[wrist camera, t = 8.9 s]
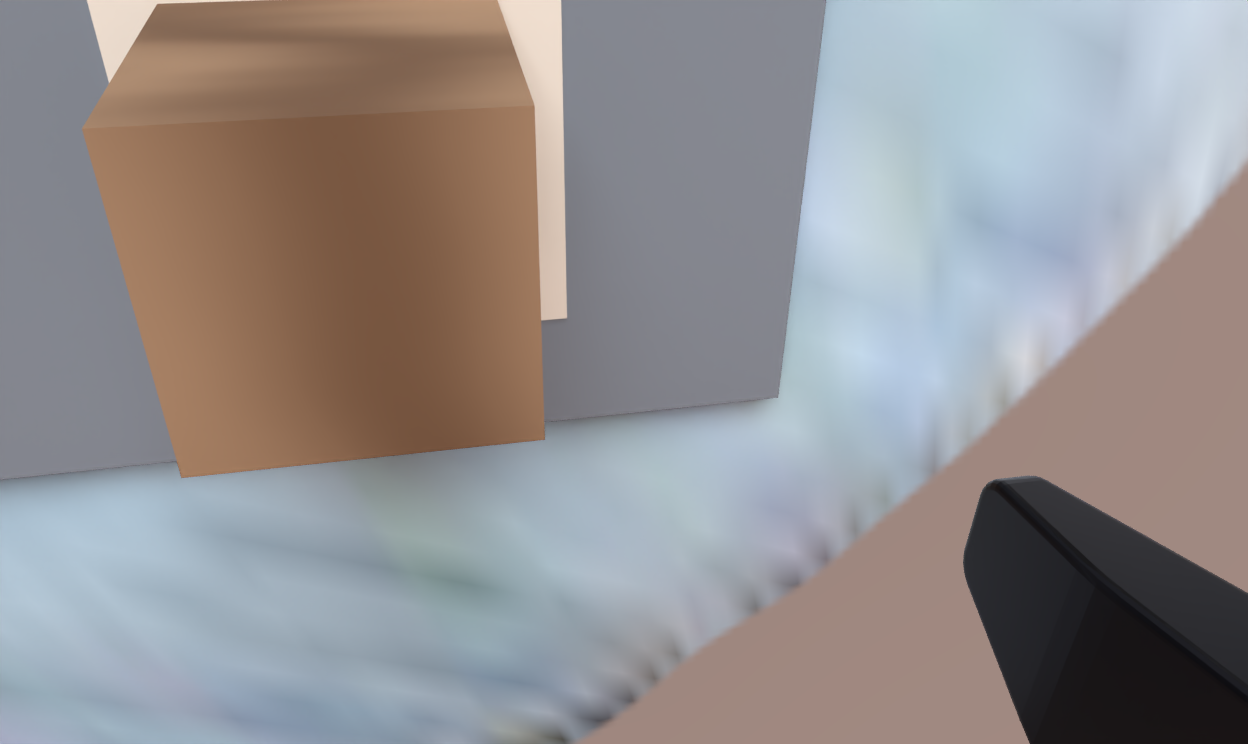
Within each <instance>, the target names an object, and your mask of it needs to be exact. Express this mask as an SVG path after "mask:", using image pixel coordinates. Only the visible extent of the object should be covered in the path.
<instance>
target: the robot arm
mask: <svg viewBox="0 0 1248 744" xmlns="http://www.w3.org/2000/svg"><path fill="white" fill-rule="evenodd" d="M963 565H964V573H965V577H966V581H967V584H968V587H969V589H970V592H971V595H972V597H973V600H974V602H975V605H976V608H977V610H978V613H979V615H980V618H981V620H982V623H983V626H984V628H985V631H986V633H987V636H988V639H989V641H990V644H991V646H992V649H993V652H994V654H995V657H996V659H997V662H998V664H999V667H1000V670H1001V672H1002V675H1003V677H1004V680H1005V682H1006V685H1007V688H1008V690H1009V693H1010V696H1011V698H1012V701H1013V703H1014V706H1015V709H1016V711H1017V714H1018V716H1019V719H1020V721H1021V723H1022V726H1023V728H1024V731H1025V733H1026V736H1027V738H1028V740H1029V743H1030V744H1248V593H1247V592H1245V591H1243V590H1241V589H1240V588H1237V587H1236V586H1234V585H1232V584H1231V583H1229V582H1227V581H1225V580H1224V579H1222V578H1220V577H1218V576H1216V575H1215V574H1213V573H1211V572H1209V571H1208V570H1206V569H1204V568H1202V567H1200V566H1198V565H1197V564H1195V563H1193V562H1191V561H1190V560H1188V559H1186V558H1184V557H1183V556H1181V555H1179V554H1177V553H1175V552H1174V551H1172V550H1170V549H1168V548H1166V547H1165V546H1163V545H1161V544H1159V543H1158V542H1156V541H1154V540H1152V539H1150V538H1149V537H1147V536H1145V535H1143V534H1142V533H1140V532H1138V531H1136V530H1134V529H1133V528H1131V527H1129V526H1127V525H1125V524H1124V523H1122V522H1120V521H1118V520H1117V519H1115V518H1113V517H1111V516H1109V515H1108V514H1106V513H1104V512H1102V511H1100V510H1099V509H1097V508H1095V507H1093V506H1091V505H1090V504H1088V503H1086V502H1084V501H1083V500H1081V499H1079V498H1077V497H1075V496H1074V495H1072V494H1070V493H1068V492H1067V491H1065V490H1063V489H1061V488H1059V487H1058V486H1056V485H1054V484H1052V483H1050V482H1049V481H1047V480H1045V479H1042V478H1041V477H1037V476H1021V477H1013V478H1004V479H996V480H993V481H991V482H989V483H988V484H987V485H986V486H985V487H984V488H983V490H982V492H981V495H980V499H979V502H978V505H977V509H976V512H975V515H974V519H973V522H972V526H971V529H970V533H969V536H968V540H967V543H966V547H965V551H964V560H963Z"/></svg>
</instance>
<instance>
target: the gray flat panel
mask: <svg viewBox="0 0 1248 744" xmlns="http://www.w3.org/2000/svg"><path fill="white" fill-rule="evenodd" d="M227 1H258V0H0V480H3V479H12V478H21V477H31V476H40V475H50V474H59V473H69V472H78V471H88V470H97V469H107V468H116V467H126V466H135V465H144V464H154V463H163V462H173V461H177V460H176V457H175V453H174V450H173V446H172V443H171V439H170V436H169V432H168V429H167V425H166V422H165V418H164V415H163V411H162V408H161V404H160V401H159V397H158V394H157V390H156V387H155V383H154V380H153V376H152V373H151V369H150V366H149V362H148V359H147V355H146V352H145V348H144V345H143V341H142V338H141V334H140V331H139V327H138V324H137V320H136V317H135V313H134V310H133V306H132V303H131V299H130V296H129V292H128V289H127V285H126V282H125V278H124V275H123V271H122V268H121V264H120V261H119V257H118V254H117V250H116V247H115V243H114V240H113V236H112V233H111V229H110V226H109V222H108V219H107V215H106V212H105V208H104V205H103V201H102V198H101V194H100V191H99V187H98V184H97V180H96V177H95V173H94V170H93V166H92V163H91V159H90V156H89V152H88V149H87V145H86V142H85V138H84V135H83V131H82V128H83V126H84V124H85V123H86V121H87V119H88V118H89V116H90V114H91V113H92V111H93V109H94V108H95V106H96V104H97V103H98V101H99V99H100V98H101V96H102V94H103V93H104V91H105V89H106V88H107V86H108V84H109V83H110V81H111V79H112V78H113V76H114V75H115V73H116V71H117V70H118V68H119V66H120V65H121V63H122V61H123V60H124V58H125V56H126V55H127V53H128V51H129V50H130V48H131V46H132V45H133V43H134V41H135V40H136V38H137V36H138V35H139V33H140V31H141V30H142V28H143V26H144V25H145V23H146V21H147V20H148V18H149V17H150V15H151V13H152V12H153V10H154V8H155V7H156V5H157V4H166V3H196V2H227ZM498 3H499V6H500V9H501V12H502V14H503V17H504V20H505V23H506V26H507V29H508V31H509V34H510V37H511V40H512V43H513V46H514V48H515V51H516V54H517V57H518V60H519V63H520V65H521V68H522V71H523V74H524V77H525V80H526V82H527V85H528V88H529V91H530V94H531V97H532V99H533V102H534V105H535V134H536V167H537V200H538V233H539V266H540V299H541V332H542V365H543V398H544V422H551V421H561V420H570V419H580V418H589V417H599V416H608V415H617V414H627V413H636V412H646V411H655V410H665V409H674V408H684V407H693V406H703V405H712V404H722V403H731V402H740V401H750V400H759V399H769V398H778V394H779V386H780V377H781V369H782V361H783V353H784V344H785V336H786V328H787V319H788V311H789V303H790V295H791V286H792V278H793V270H794V262H795V253H796V245H797V237H798V229H799V220H800V212H801V204H802V196H803V187H804V179H805V171H806V163H807V154H808V146H809V138H810V130H811V121H812V113H813V105H814V96H815V88H816V80H817V72H818V63H819V55H820V47H821V39H822V30H823V22H824V14H825V6H826V0H498Z"/></svg>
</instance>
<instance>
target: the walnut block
mask: <svg viewBox="0 0 1248 744" xmlns="http://www.w3.org/2000/svg"><path fill="white" fill-rule="evenodd" d="M82 131H83V135H84V138H85V142H86V145H87V149H88V152H89V156H90V159H91V163H92V166H93V170H94V173H95V177H96V180H97V184H98V187H99V191H100V194H101V198H102V201H103V205H104V208H105V212H106V215H107V219H108V222H109V226H110V229H111V233H112V236H113V240H114V243H115V247H116V250H117V254H118V257H119V261H120V264H121V268H122V271H123V275H124V278H125V282H126V285H127V289H128V292H129V296H130V299H131V303H132V306H133V310H134V313H135V317H136V320H137V324H138V327H139V331H140V334H141V338H142V341H143V345H144V348H145V352H146V355H147V359H148V362H149V366H150V369H151V373H152V376H153V380H154V383H155V387H156V390H157V394H158V397H159V401H160V404H161V408H162V411H163V415H164V418H165V422H166V425H167V429H168V432H169V436H170V439H171V443H172V446H173V450H174V453H175V457H176V460H177V464H178V467H179V471H180V474H181V478H186V477H195V476H205V475H214V474H223V473H233V472H242V471H252V470H261V469H271V468H280V467H290V466H299V465H309V464H318V463H328V462H337V461H347V460H356V459H366V458H375V457H384V456H394V455H403V454H413V453H422V452H432V451H441V450H451V449H460V448H470V447H479V446H489V445H498V444H508V443H517V442H527V441H536V440H545V431H544V398H543V365H542V332H541V299H540V266H539V233H538V200H537V167H536V134H535V105H534V102H533V99H532V97H531V94H530V91H529V88H528V85H527V82H526V80H525V77H524V74H523V71H522V68H521V65H520V63H519V60H518V57H517V54H516V51H515V48H514V46H513V43H512V40H511V37H510V34H509V31H508V29H507V26H506V23H505V20H504V17H503V14H502V12H501V9H500V6H499V3H498V0H258V1H227V2H196V3H166V4H157V5H156V7H155V8H154V10H153V12H152V13H151V15H150V17H149V18H148V20H147V21H146V23H145V25H144V26H143V28H142V30H141V31H140V33H139V35H138V36H137V38H136V40H135V41H134V43H133V45H132V46H131V48H130V50H129V51H128V53H127V55H126V56H125V58H124V60H123V61H122V63H121V65H120V66H119V68H118V70H117V71H116V73H115V75H114V76H113V78H112V79H111V81H110V83H109V84H108V86H107V88H106V89H105V91H104V93H103V94H102V96H101V98H100V99H99V101H98V103H97V104H96V106H95V108H94V109H93V111H92V113H91V114H90V116H89V118H88V119H87V121H86V123H85V124H84V126H83V128H82Z"/></svg>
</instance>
